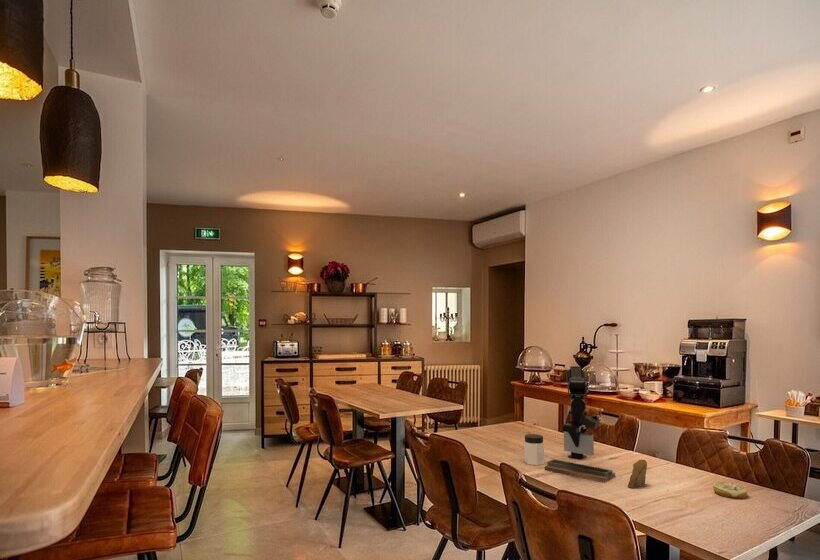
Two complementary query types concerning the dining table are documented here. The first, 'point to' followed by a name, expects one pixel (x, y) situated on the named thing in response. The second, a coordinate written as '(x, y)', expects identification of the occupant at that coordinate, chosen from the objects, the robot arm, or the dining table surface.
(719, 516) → the dining table surface
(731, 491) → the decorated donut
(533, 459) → the jar
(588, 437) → the door panel
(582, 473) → the track board
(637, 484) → the rock
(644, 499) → the dining table surface
